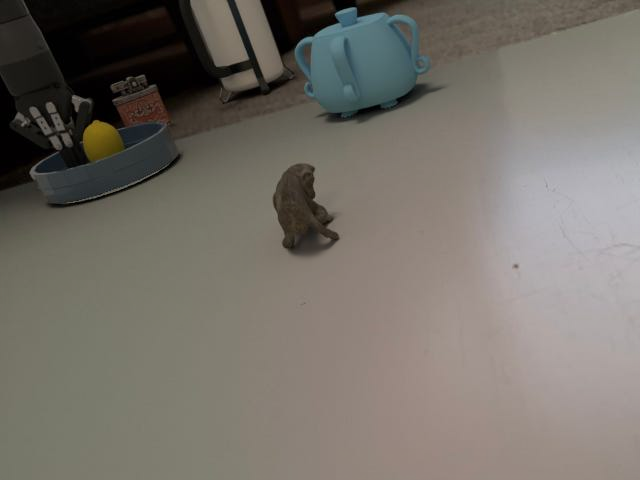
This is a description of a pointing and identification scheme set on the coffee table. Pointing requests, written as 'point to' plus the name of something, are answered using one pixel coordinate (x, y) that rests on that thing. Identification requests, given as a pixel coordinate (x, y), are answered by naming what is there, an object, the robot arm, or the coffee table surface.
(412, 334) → the coffee table surface
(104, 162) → the bowl
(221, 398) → the coffee table surface
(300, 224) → the brown furry figure
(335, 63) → the decorative pot
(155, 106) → the lighter
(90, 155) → the lemon
